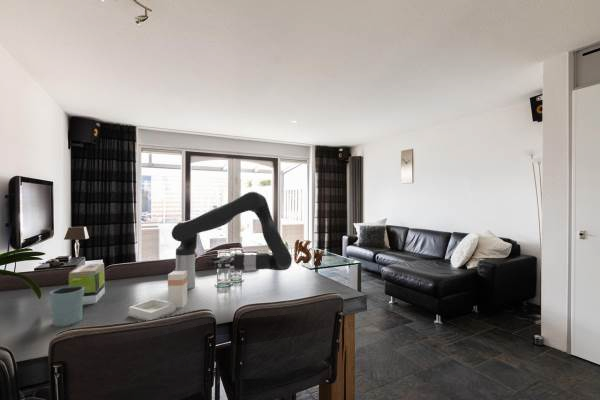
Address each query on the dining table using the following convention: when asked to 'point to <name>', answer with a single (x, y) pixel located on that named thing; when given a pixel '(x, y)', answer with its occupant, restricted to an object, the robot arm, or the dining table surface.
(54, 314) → the light blue cup
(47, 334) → the dining table surface
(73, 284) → the tea box
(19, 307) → the dining table surface
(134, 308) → the white rectangular dish
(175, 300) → the carton
